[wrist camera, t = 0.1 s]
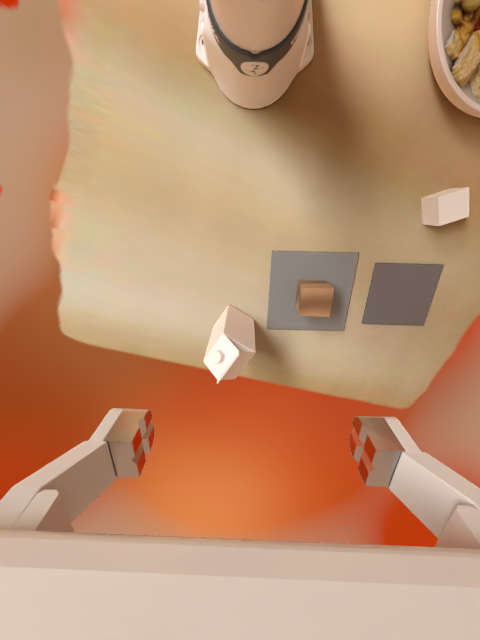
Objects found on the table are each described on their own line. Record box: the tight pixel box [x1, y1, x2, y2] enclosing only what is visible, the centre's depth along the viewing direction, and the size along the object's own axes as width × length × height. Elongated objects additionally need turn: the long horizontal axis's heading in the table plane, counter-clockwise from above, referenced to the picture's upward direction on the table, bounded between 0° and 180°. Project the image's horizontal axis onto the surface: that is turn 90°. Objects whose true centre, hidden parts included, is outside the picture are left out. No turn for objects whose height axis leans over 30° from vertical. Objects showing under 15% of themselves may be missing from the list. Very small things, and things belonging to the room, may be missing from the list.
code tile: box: [267, 251, 359, 331], centre depth 58 cm, size 18×18×1 cm
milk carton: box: [204, 305, 256, 383], centre depth 53 cm, size 7×7×19 cm
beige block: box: [421, 187, 469, 226], centre depth 48 cm, size 5×5×5 cm
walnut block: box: [295, 280, 334, 317], centre depth 55 cm, size 6×6×6 cm
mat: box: [362, 263, 444, 325], centre depth 57 cm, size 14×14×1 cm
